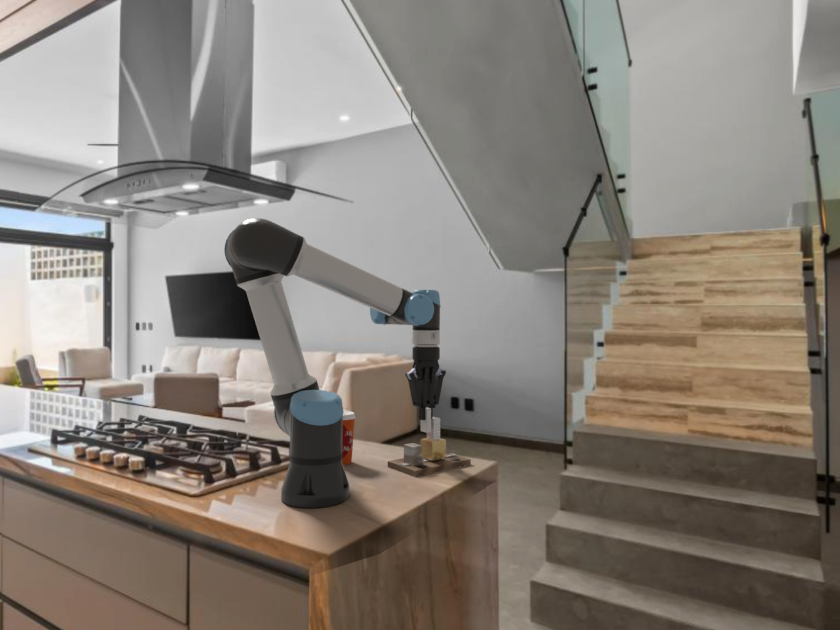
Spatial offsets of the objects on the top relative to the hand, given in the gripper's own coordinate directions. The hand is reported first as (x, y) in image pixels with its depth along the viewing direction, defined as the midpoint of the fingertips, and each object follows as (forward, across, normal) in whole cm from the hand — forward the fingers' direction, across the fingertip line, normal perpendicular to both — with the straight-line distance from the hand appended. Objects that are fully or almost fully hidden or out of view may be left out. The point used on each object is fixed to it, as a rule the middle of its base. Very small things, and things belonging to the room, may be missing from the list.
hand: (425, 431), depth 151 cm
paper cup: (+10, -16, +17) cm, 26 cm away
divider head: (+8, +3, -1) cm, 8 cm away
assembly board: (+10, +2, 0) cm, 10 cm away
